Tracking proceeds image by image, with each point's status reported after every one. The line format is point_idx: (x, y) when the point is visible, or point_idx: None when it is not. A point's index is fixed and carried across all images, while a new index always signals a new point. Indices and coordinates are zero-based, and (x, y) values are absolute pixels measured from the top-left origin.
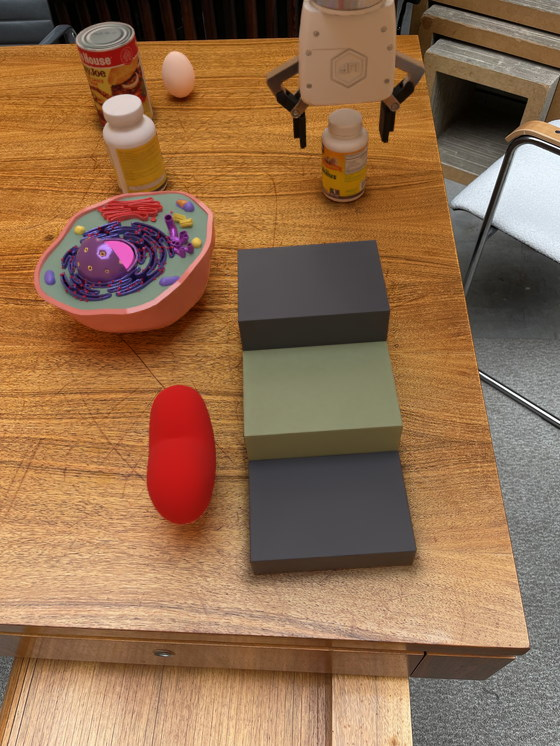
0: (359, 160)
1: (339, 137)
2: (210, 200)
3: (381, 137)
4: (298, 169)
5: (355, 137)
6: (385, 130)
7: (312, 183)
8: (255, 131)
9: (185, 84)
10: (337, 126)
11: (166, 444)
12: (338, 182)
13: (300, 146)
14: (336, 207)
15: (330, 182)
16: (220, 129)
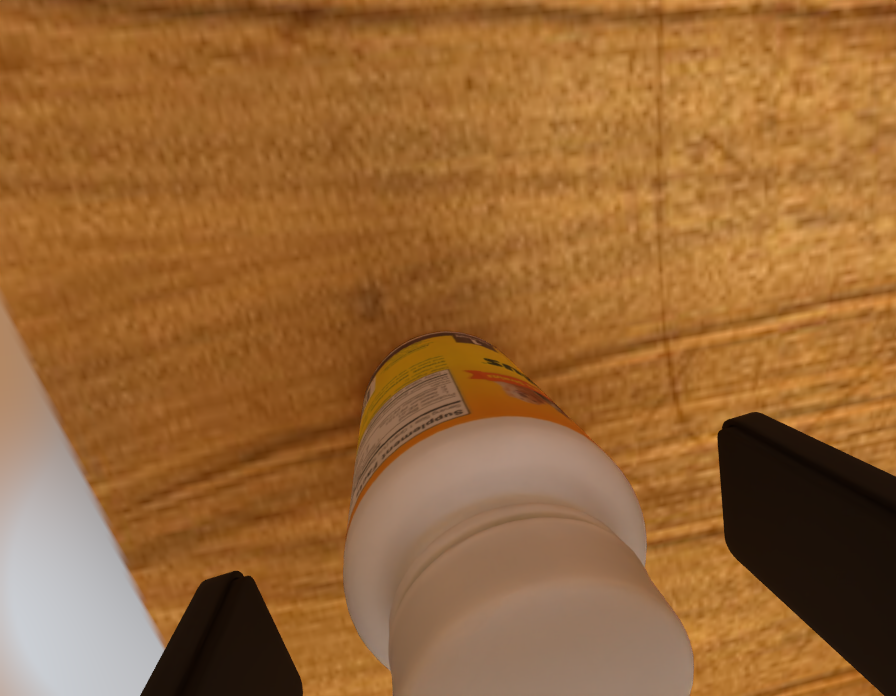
0: (381, 432)
1: (551, 505)
2: (867, 281)
3: (254, 610)
4: None
5: (427, 546)
6: (186, 660)
7: None
8: (739, 617)
9: None
10: (614, 581)
11: None
12: (469, 353)
13: (764, 419)
14: (453, 309)
15: (503, 359)
16: None
